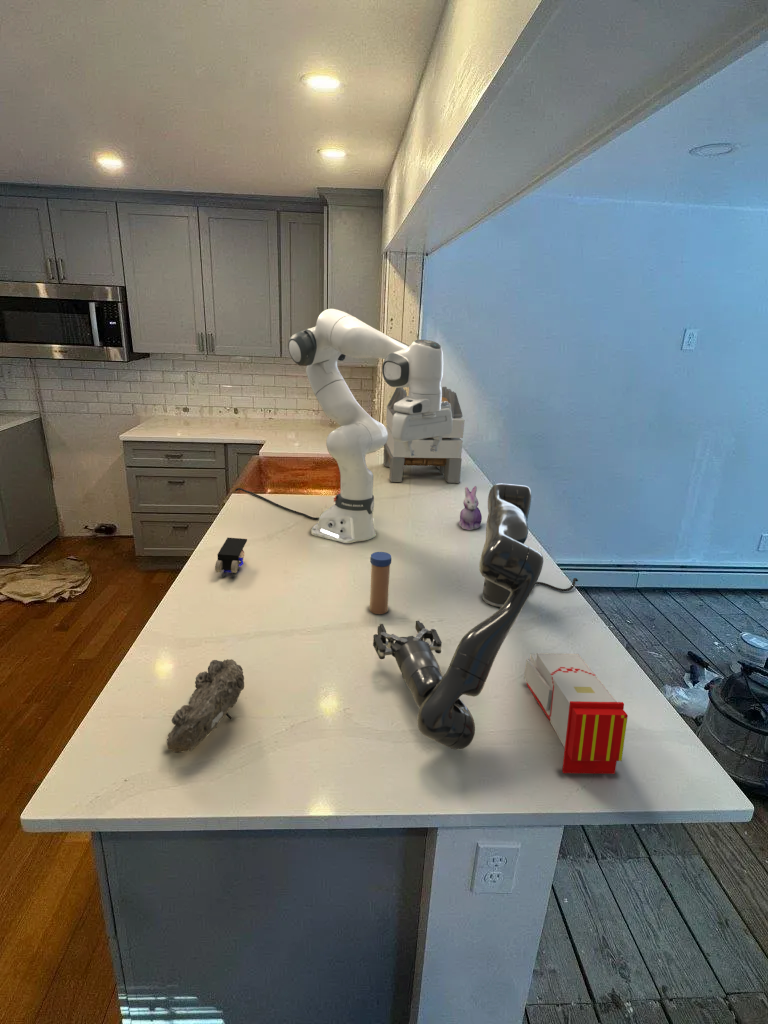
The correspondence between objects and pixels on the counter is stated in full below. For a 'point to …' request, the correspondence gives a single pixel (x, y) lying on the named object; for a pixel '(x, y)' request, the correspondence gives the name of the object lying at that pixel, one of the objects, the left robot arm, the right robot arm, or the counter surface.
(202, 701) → the fossil
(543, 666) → the toy
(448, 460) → the transformer
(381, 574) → the jar
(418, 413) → the left robot arm
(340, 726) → the counter surface
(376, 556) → the lid
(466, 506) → the figurine
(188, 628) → the counter surface
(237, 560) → the black wheeled block
